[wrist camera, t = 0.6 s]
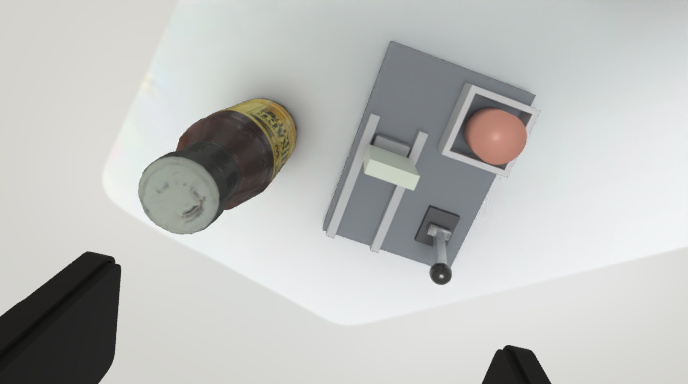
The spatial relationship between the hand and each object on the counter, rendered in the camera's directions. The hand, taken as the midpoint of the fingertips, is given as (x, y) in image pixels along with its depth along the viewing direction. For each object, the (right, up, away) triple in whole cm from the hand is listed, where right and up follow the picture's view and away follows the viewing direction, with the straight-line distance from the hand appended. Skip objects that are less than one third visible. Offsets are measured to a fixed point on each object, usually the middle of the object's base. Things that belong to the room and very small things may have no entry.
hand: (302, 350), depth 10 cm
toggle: (+10, 0, +29) cm, 30 cm away
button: (+13, +9, +25) cm, 30 cm away
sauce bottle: (-6, +10, +29) cm, 31 cm away
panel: (+8, +7, +30) cm, 31 cm away
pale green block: (+5, +7, +28) cm, 29 cm away
